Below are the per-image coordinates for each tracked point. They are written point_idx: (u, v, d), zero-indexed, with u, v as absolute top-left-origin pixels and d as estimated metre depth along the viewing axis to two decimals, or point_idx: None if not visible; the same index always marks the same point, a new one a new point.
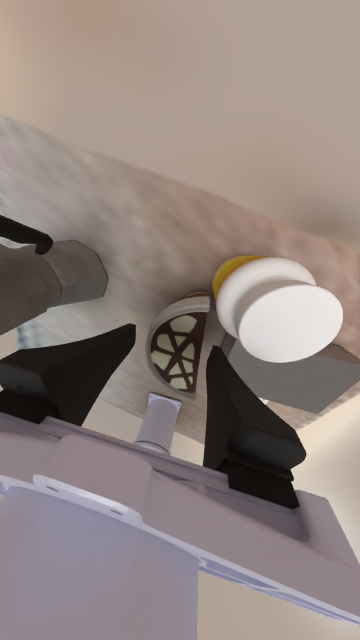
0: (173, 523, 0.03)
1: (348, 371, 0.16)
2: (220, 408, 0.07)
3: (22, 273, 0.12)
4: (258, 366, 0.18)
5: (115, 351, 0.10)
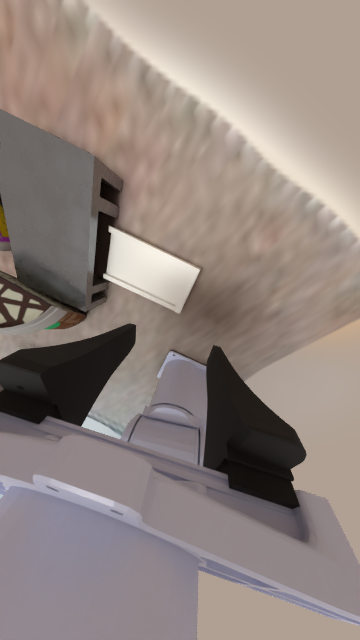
0: (173, 523, 0.03)
1: (1, 140, 0.12)
2: (220, 408, 0.07)
3: None
4: (42, 263, 0.17)
5: (115, 351, 0.10)
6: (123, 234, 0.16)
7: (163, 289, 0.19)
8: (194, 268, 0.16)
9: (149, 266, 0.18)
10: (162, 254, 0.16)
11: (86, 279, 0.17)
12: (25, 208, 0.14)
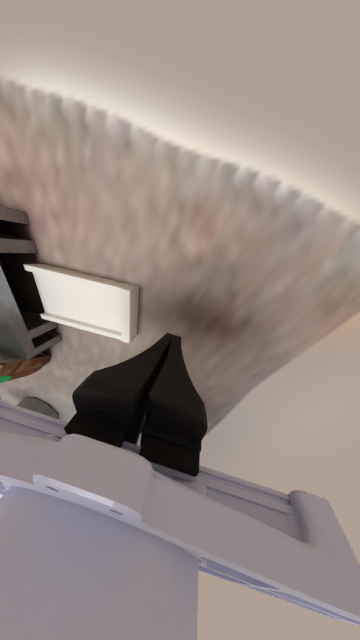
0: (173, 523, 0.03)
1: None
2: None
3: None
4: None
5: (161, 364, 0.09)
6: (39, 269, 0.14)
7: (105, 318, 0.16)
8: (123, 290, 0.13)
9: (81, 297, 0.15)
10: (85, 282, 0.14)
11: (13, 327, 0.15)
12: None
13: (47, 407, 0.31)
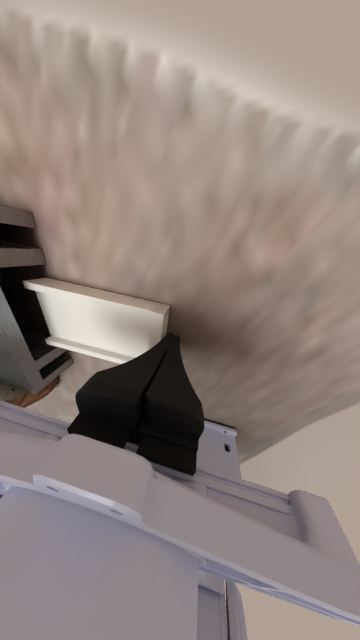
0: (173, 523, 0.03)
1: None
2: None
3: None
4: None
5: None
6: (43, 287, 0.11)
7: (126, 344, 0.13)
8: (154, 314, 0.10)
9: (96, 319, 0.12)
10: (102, 303, 0.10)
11: (17, 359, 0.11)
12: None
13: None
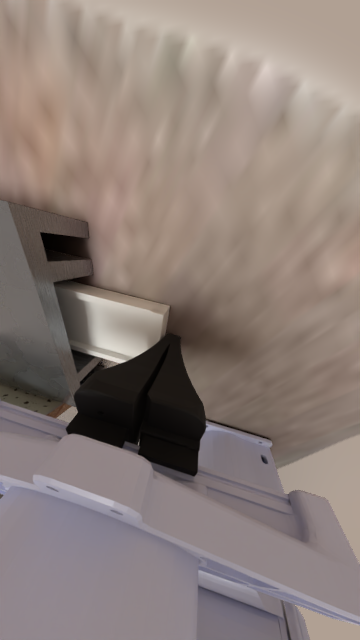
0: (173, 523, 0.03)
1: None
2: None
3: None
4: (4, 359, 0.12)
5: (162, 364, 0.09)
6: None
7: (124, 344, 0.13)
8: (154, 314, 0.10)
9: (95, 318, 0.12)
10: (102, 302, 0.10)
11: (64, 373, 0.11)
12: None
13: None
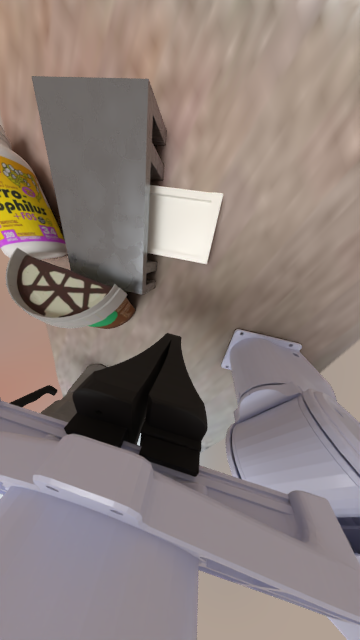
0: (173, 523, 0.03)
1: (51, 115, 0.11)
2: None
3: (53, 406, 0.23)
4: (95, 248, 0.15)
5: (161, 364, 0.09)
6: None
7: (182, 240, 0.16)
8: (215, 194, 0.13)
9: (162, 216, 0.16)
10: (174, 191, 0.14)
11: (142, 252, 0.15)
12: (76, 187, 0.13)
13: None
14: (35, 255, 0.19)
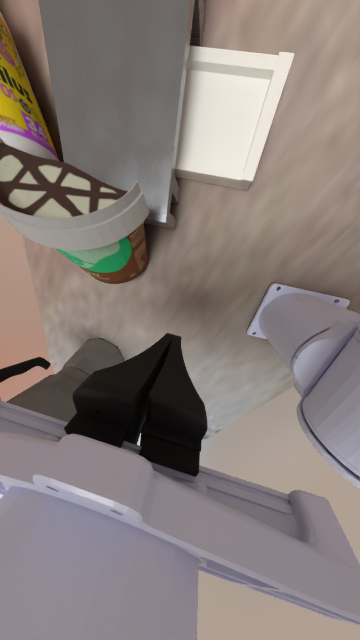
0: (173, 523, 0.03)
1: None
2: None
3: (45, 380, 0.19)
4: (104, 146, 0.11)
5: (161, 364, 0.09)
6: None
7: (221, 148, 0.12)
8: (283, 56, 0.09)
9: (197, 108, 0.11)
10: (221, 56, 0.10)
11: (172, 149, 0.11)
12: (79, 27, 0.09)
13: (115, 349, 0.27)
14: None
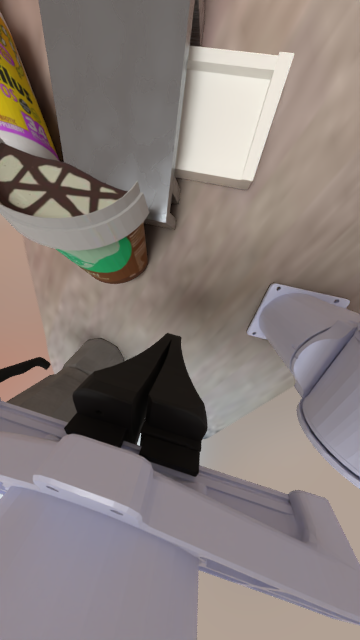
0: (173, 523, 0.03)
1: None
2: None
3: (45, 380, 0.19)
4: (104, 146, 0.11)
5: (161, 364, 0.09)
6: None
7: (221, 148, 0.12)
8: (283, 56, 0.09)
9: (197, 108, 0.11)
10: (221, 56, 0.10)
11: (172, 149, 0.11)
12: (79, 27, 0.09)
13: (115, 349, 0.27)
14: None
